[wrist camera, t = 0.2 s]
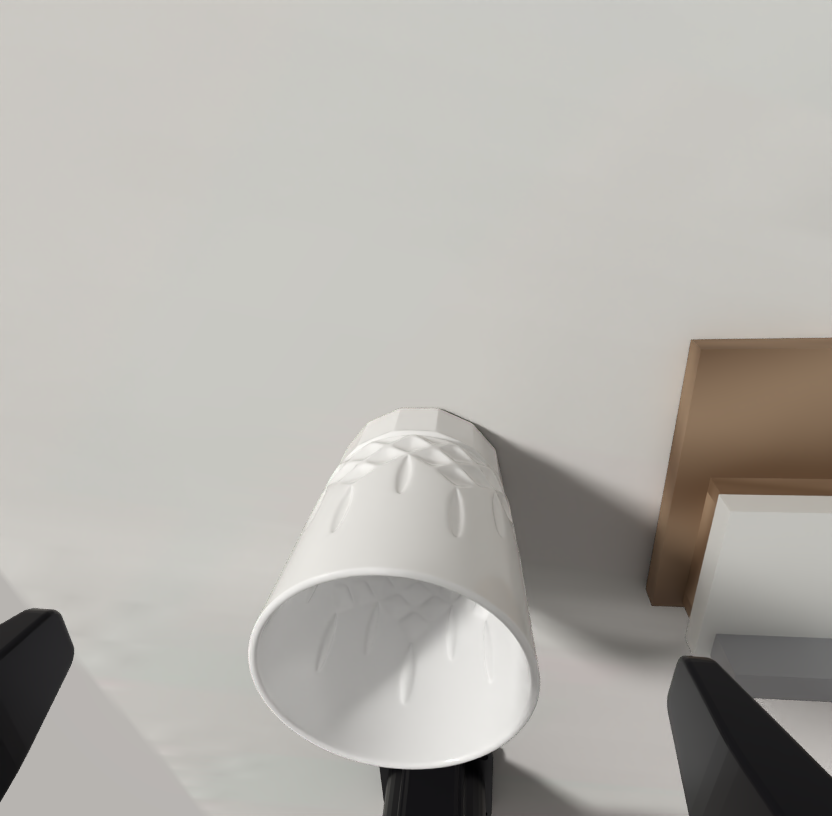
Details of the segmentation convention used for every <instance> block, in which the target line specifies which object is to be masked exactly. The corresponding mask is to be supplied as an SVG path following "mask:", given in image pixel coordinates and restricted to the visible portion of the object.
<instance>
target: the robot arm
mask: <svg viewBox="0 0 832 816" xmlns="http://www.w3.org/2000/svg"><path fill="white" fill-rule="evenodd" d="M73 657H74V646H73V643H72V641H71V638H70V636H69V633H68V630H67V628H66V625H65V623H64V620H63V618H62V616H61V614H60V613H59V612H58V611H56V610H52V609H38V608H32V609H28V610H25V611H23V612H21V613H19V614H18V615H16V616H14V617H12V618H11V619H9V620H7V621H5V622H4V623H2V624H0V802H1V800H2V798H3V797H4V795H5V793H6V792H7V790H8V788H9V786H10V785H11V783H12V781H13V779H14V778H15V776H16V774H17V773H18V771H19V769H20V767H21V765H22V763H23V761H24V759H25V757H26V755H27V753H28V752H29V750H30V748H31V745H32V744H33V742H34V740H35V738H36V735H37V733H38V731H39V729H40V727H41V725H42V723H43V721H44V719H45V717H46V715H47V713H48V711H49V709H50V707H51V705H52V703H53V701H54V699H55V697H56V695H57V693H58V691H59V688H60V687H61V685H62V682H63V681H64V678H65V677H66V675H67V672H68V670H69V668H70V666H71V664H72V661H73ZM667 708H668V715H669V720H670V725H671V730H672V735H673V740H674V744H675V749H676V754H677V759H678V764H679V769H680V774H681V779H682V783H683V788H684V793H685V798H686V803H687V808H688V813H689V816H832V777H831V776H830V775H829V774H828V773H827V772H826V771H825V770H824V769H823V768H822V767H821V766H820V765H819V764H818V763H817V762H816V761H815V760H814V759H813V758H812V757H811V756H810V755H809V754H808V753H807V752H806V751H805V750H804V749H803V748H802V747H801V746H800V745H799V744H798V743H797V742H796V741H795V740H794V739H793V738H792V737H791V736H790V735H789V734H788V733H787V732H786V731H785V730H784V729H783V728H782V727H781V726H780V725H779V724H778V723H777V722H776V721H775V720H774V719H773V718H772V717H771V716H770V715H769V714H768V713H767V712H766V711H765V710H764V709H763V708H762V707H761V706H760V705H759V704H758V703H757V702H756V701H755V700H754V699H753V698H752V697H751V696H750V695H749V694H748V693H747V692H746V691H745V690H744V689H743V688H742V687H741V686H740V685H739V683H738V682H737V681H736V680H735V679H734V678H733V677H732V676H731V675H730V674H729V673H728V672H727V671H726V670H725V669H724V668H723V667H722V666H721V665H720V664H718V663H717V662H716V661H715V660H713V659H711V658H708V657H697V656H682V657H681V658H680V659H679V660H678V662H677V665H676V668H675V671H674V675H673V678H672V682H671V685H670V688H669V692H668V697H667ZM492 772H493V752H491V753H489V754H487V755H484V756H482V757H480V758H477V759H475V760H472V761H469V762H465V763H462V764H458V765H453V766H448V767H442V768H434V769H394V768H385V767H380V774H381V782H382V790H383V798H384V809H383V816H491V814H492Z"/></svg>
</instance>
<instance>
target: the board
mask: <svg viewBox="0 0 832 816" xmlns="http://www.w3.org/2000/svg"><path fill="white" fill-rule="evenodd" d="M719 494H730V495H795V496H832V338H782V339H700V340H691V343H690V348H689V354H688V359H687V365H686V370H685V376H684V381H683V387H682V392H681V398H680V403H679V409H678V414H677V420H676V425H675V431H674V436H673V442H672V447H671V453H670V458H669V464H668V469H667V475H666V480H665V486H664V491H663V497H662V502H661V508H660V513H659V519H658V524H657V530H656V535H655V541H654V546H653V552H652V557H651V563H650V568H649V574H648V579H647V585H646V591H647V594H648V597H649V599H650V602H651V605H652V606H672V607H685V610H686V612H687V614H688V617H689V619H690V615H691V610H692V606H693V602H694V598H695V593H696V589H697V585H698V581H699V576H700V572H701V568H702V564H703V560H704V555H705V551H706V547H707V543H708V538H709V534H710V530H711V526H712V521H713V517H714V513H715V509H716V504H717V500H718V496H719Z"/></svg>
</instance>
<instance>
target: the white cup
mask: <svg viewBox="0 0 832 816" xmlns="http://www.w3.org/2000/svg"><path fill="white" fill-rule="evenodd" d="M248 662H249V668H250V673H251V676H252V679H253V682H254V684H255V687H256V689H257V691H258V693H259V694H260V696H261V698H262V699H263V701H264V702H265V704H266V705H267V706H268V708H269V709H270V710H271V711H272V712H273V713H274V714H275V716H276V717H277V718H278V719H279V720H281V721H282V722H283V723H284V724H285V725H286V726H287V727H289V728H290V729H291V730H292V731H294V732H295V733H296V734H298V735H299V736H301V737H302V738H304V739H305V740H307V741H309V742H310V743H312V744H314V745H316V746H318V747H320V748H322V749H324V750H326V751H328V752H330V753H333V754H335V755H338V756H341V757H343V758H346V759H349V760H353V761H356V762H360V763H364V764H368V765H373V766H379V767H385V768H394V769H434V768H442V767H448V766H453V765H458V764H462V763H465V762H469V761H472V760H475V759H477V758H480V757H482V756H484V755H487V754H489V753H491V752H493V751H494V750H496V749H498V748H500V747H501V746H503V745H504V744H506V743H507V742H508V741H510V740H511V739H512V738H513V737H514V736H515V735H516V734H517V733H518V732H519V731H520V730H521V729H522V728H523V727H524V726H525V724H526V723H527V722H528V720H529V719H530V717H531V715H532V713H533V711H534V709H535V707H536V704H537V701H538V696H539V691H540V672H539V666H538V660H537V655H536V649H535V643H534V637H533V631H532V625H531V619H530V614H529V608H528V602H527V596H526V590H525V583H524V577H523V571H522V564H521V558H520V553H519V549H518V546H517V541H516V534H515V528H514V524H513V520H512V515H511V509H510V504H509V500H508V499H507V497H506V495H505V493H504V486H503V480H502V476H501V471H500V467H499V462H498V458H497V454H496V450H495V448H494V447H493V446H492V445H491V444H490V443H489V442H488V440H487V439H486V438H485V437H484V436H483V435H482V434H481V432H480V431H479V430H478V429H477V428H476V427H475V426H474V425H473V424H472V423H471V422H468V421H466V420H464V419H462V418H459V417H457V416H455V415H452V414H450V413H448V412H446V411H443V410H441V409H439V408H399V409H397V410H395V411H392V412H390V413H388V414H385V415H383V416H381V417H378V418H376V419H374V420H371V421H369V422H368V423H367V424H366V425H365V427H364V428H363V429H362V430H361V431H360V433H359V434H358V435H357V436H356V438H355V439H354V440H353V441H352V442H351V444H350V445H349V446H348V448H347V449H346V452H345V454H344V456H343V458H342V460H341V462H340V464H339V466H338V467H337V468H336V470H335V471H334V473H333V475H332V476H331V478H330V480H329V481H328V483H327V485H326V487H325V489H324V490H323V493H322V495H321V497H320V498H319V500H318V502H317V503H316V505H315V507H314V509H313V510H312V512H311V514H310V516H309V518H308V520H307V522H306V524H305V526H304V528H303V530H302V532H301V534H300V536H299V538H298V540H297V542H296V544H295V546H294V548H293V550H292V552H291V554H290V556H289V558H288V560H287V562H286V564H285V566H284V568H283V570H282V572H281V574H280V576H279V578H278V580H277V582H276V584H275V586H274V588H273V590H272V592H271V594H270V596H269V598H268V600H267V602H266V604H265V606H264V608H263V610H262V612H261V614H260V616H259V618H258V620H257V622H256V623H255V626H254V628H253V630H252V633H251V637H250V641H249V648H248Z"/></svg>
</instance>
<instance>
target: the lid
mask: <svg viewBox="0 0 832 816" xmlns="http://www.w3.org/2000/svg"><path fill="white" fill-rule="evenodd" d="M685 639H686V641H687V644H688V646H689V649H690V651H691V654H692V656H697V657H708V658H711V659H713V660H715V661H716V662H717V663H718V664H720V665H721V666H722V667H723V668H724V669H725V670H726V671H727V672H728V673H729V674H730V675H731V676H732V677H733V678H734V679H735V680H736V681H737V682H738V683H739V685H740V686H741V687H742V688H743V689H744V690H745V691H746V692H747V693H748V694H749V695H750V696H751V697H752V698H763V699H782V700H802V701H821V702H832V496H795V495H730V494H719V496H718V500H717V504H716V509H715V513H714V517H713V521H712V526H711V530H710V534H709V538H708V543H707V547H706V551H705V555H704V560H703V564H702V568H701V572H700V576H699V581H698V585H697V589H696V593H695V598H694V602H693V606H692V610H691V615H690V619H689V623H688V627H687V631H686V636H685Z"/></svg>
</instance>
